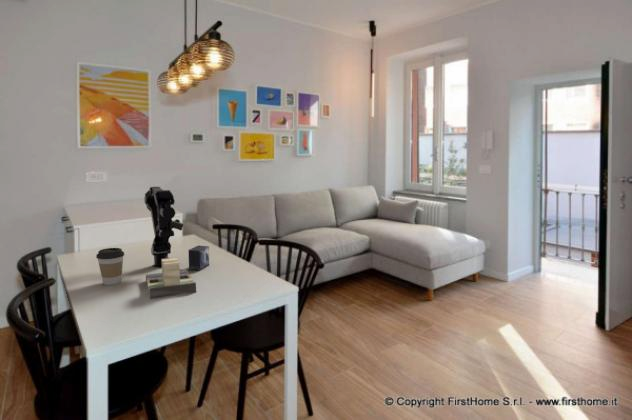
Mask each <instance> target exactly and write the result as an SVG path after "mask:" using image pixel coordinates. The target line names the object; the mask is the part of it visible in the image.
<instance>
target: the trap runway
mask: <svg viewBox="0 0 632 420" xmlns="http://www.w3.org/2000/svg"><path fill="white" fill-rule="evenodd" d="M179 270H180V269H179ZM145 283H146V284H145V285H146V286H147V287H146V288H147V292H148V295H149V296H148V297H149V299H150V300H151V299H159V298H166V297H171V296H179V295H185V294H187V295H188V294H193V293H197V282H196V281H194V280H193V278H192V277H191V275H190V273H189V270H187V269H183V270H180V284H179V285H172V286H164V284H163V278H162V272H157V273H150V274H149V273H148V274H145Z"/></svg>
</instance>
